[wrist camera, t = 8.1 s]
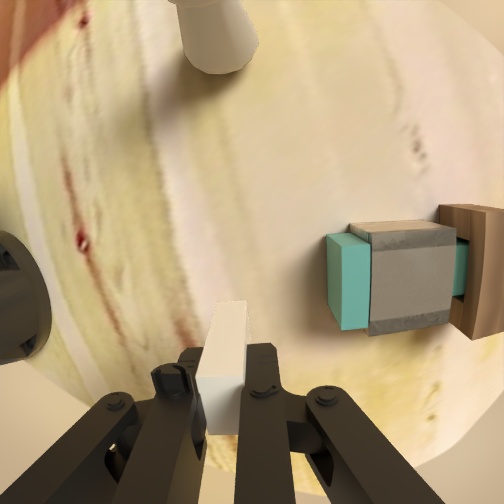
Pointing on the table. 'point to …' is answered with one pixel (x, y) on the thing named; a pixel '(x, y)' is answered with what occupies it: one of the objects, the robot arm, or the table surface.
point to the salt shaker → (216, 34)
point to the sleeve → (408, 274)
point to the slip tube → (366, 277)
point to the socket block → (479, 269)
